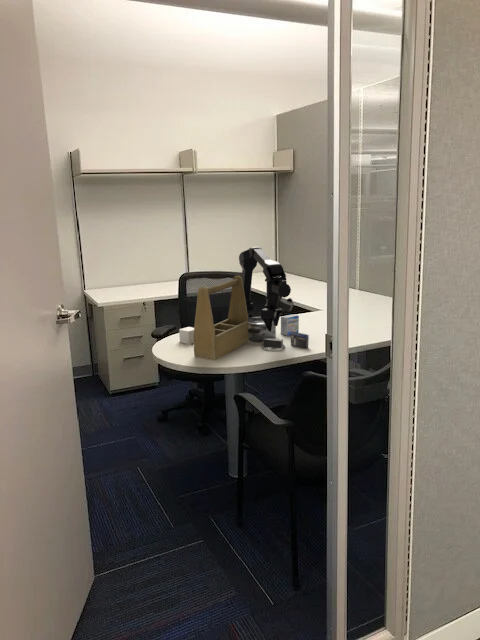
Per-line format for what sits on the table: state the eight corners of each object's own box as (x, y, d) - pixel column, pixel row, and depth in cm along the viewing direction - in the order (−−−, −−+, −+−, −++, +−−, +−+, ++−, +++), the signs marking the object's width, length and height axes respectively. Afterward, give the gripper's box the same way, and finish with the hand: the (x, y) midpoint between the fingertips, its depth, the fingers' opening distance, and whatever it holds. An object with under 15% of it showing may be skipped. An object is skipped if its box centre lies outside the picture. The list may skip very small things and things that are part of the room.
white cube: (188, 344, 228) (188, 331, 227) (179, 342, 232) (179, 329, 231) (198, 341, 233) (198, 328, 231) (189, 339, 236) (188, 326, 235)
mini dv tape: (290, 345, 225) (290, 332, 223) (292, 344, 226) (293, 331, 224) (306, 349, 219) (306, 335, 218) (308, 348, 220) (308, 334, 219)
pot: (239, 341, 231) (239, 324, 229) (253, 331, 248) (252, 314, 246) (268, 344, 226) (268, 326, 224) (280, 333, 243) (280, 316, 241)
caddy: (215, 360, 206) (213, 287, 198) (193, 357, 211) (190, 285, 203) (249, 342, 230) (248, 276, 223) (229, 339, 235) (227, 274, 228)
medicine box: (287, 336, 239) (287, 318, 237) (280, 334, 242) (280, 316, 240) (298, 332, 244) (299, 315, 242) (292, 331, 247) (292, 313, 245)
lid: (257, 350, 219) (257, 341, 218) (265, 343, 228) (265, 335, 227) (281, 352, 215) (281, 343, 214) (287, 346, 225) (287, 337, 224)
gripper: (285, 298, 205) (285, 336, 209) (297, 290, 222) (296, 324, 225) (259, 297, 208) (259, 333, 212) (272, 288, 225) (272, 322, 229)
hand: (273, 328), depth 220 cm, fingers open, 9 cm apart
